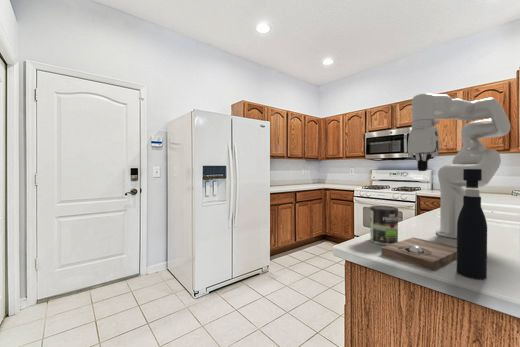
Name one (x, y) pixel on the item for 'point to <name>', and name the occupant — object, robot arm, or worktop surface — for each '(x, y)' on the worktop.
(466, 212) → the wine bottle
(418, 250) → the ball
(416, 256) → the board
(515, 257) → the worktop surface
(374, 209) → the coffee can
